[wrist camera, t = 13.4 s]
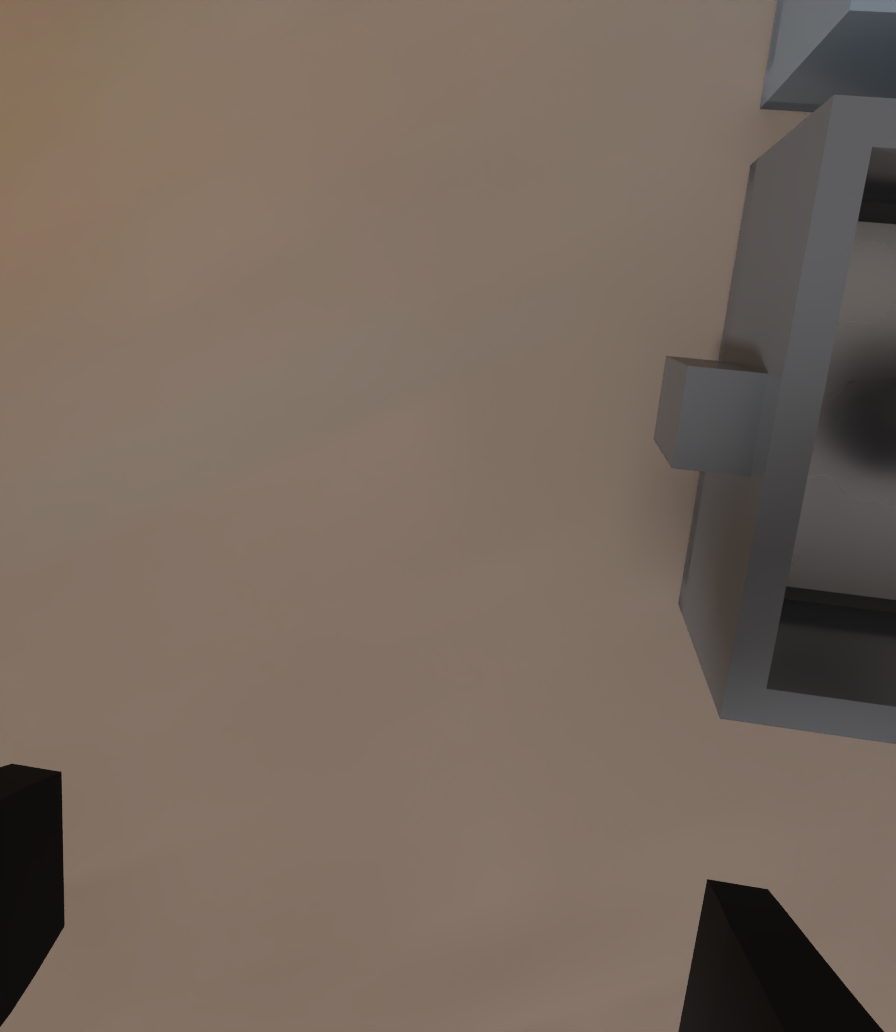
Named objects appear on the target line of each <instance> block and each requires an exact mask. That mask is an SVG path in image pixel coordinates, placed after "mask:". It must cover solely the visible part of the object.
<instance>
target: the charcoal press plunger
mask: <svg viewBox="0 0 896 1032" xmlns="http://www.w3.org/2000/svg"><path fill="white" fill-rule="evenodd" d="M786 586H788V587H796V588H804V589H812V590H820V591H828V592H836V593H844V594H852V595H860V596H867V597H875V598H883V599H891V600H896V224H885V223H872V222H859V221H858V222H857V227H856V233H855V238H854V243H853V248H852V253H851V258H850V263H849V268H848V273H847V279H846V284H845V289H844V294H843V299H842V304H841V309H840V314H839V319H838V325H837V330H836V335H835V340H834V345H833V350H832V355H831V360H830V365H829V371H828V376H827V381H826V386H825V391H824V396H823V401H822V406H821V411H820V417H819V422H818V427H817V432H816V437H815V442H814V447H813V452H812V457H811V463H810V468H809V473H808V478H807V483H806V488H805V493H804V498H803V503H802V509H801V514H800V519H799V524H798V529H797V534H796V539H795V544H794V549H793V555H792V560H791V565H790V570H789V575H788V580H787V585H786Z"/></svg>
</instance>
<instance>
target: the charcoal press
mask: <svg viewBox="0 0 896 1032" xmlns="http://www.w3.org/2000/svg"><path fill="white" fill-rule="evenodd" d="M858 221H859V222H872V223H885V224H896V99H895V98H879V97H863V96H846V95H833V96H832V97H831V98H830V99H828V100H827V101H826V102H825V103H824V104H823V105H821V106H820V107H819V108H818V109H817V110H815V111H814V112H813V113H812V114H811V115H809V116H808V117H807V118H806V119H805V120H803V121H802V122H801V123H800V124H799V125H797V126H796V127H795V128H794V129H793V130H792V131H790V132H789V133H788V134H787V135H786V136H784V137H783V138H782V139H781V140H780V141H778V142H777V143H776V144H775V145H774V146H772V147H771V148H770V149H769V150H768V151H767V152H765V153H764V154H763V155H762V156H761V157H759V158H758V159H757V160H756V161H755V162H753V163H752V164H751V166H750V172H749V178H748V184H747V190H746V196H745V203H744V209H743V215H742V221H741V227H740V233H739V239H738V245H737V251H736V257H735V263H734V269H733V275H732V282H731V288H730V294H729V300H728V306H727V312H726V318H725V324H724V330H723V336H722V342H721V348H720V354H719V361H713V360H703V359H692V358H682V357H672V356H666V360H665V366H664V373H663V380H662V387H661V393H660V400H659V407H658V413H657V420H656V427H655V433H654V441H655V442H656V444H657V446H658V447H659V449H660V450H661V452H662V453H663V455H664V457H665V458H666V460H667V461H668V463H669V464H670V466H671V468H676V469H685V470H694V471H700V476H699V482H698V488H697V494H696V500H695V506H694V512H693V519H692V525H691V531H690V537H689V543H688V549H687V555H686V561H685V567H684V573H683V579H682V585H681V591H680V598H679V607H680V610H681V612H682V615H683V618H684V621H685V623H686V626H687V629H688V632H689V635H690V637H691V640H692V643H693V646H694V648H695V651H696V654H697V657H698V659H699V662H700V665H701V668H702V670H703V673H704V676H705V679H706V681H707V684H708V687H709V690H710V692H711V695H712V698H713V701H714V704H715V706H716V709H717V712H718V715H719V717H720V719H727V720H734V721H741V722H748V723H755V724H762V725H769V726H775V727H782V728H789V729H796V730H803V731H810V732H817V733H824V734H831V735H838V736H845V737H851V738H858V739H865V740H872V741H879V742H886V743H893V744H896V600H891V599H883V598H875V597H867V596H860V595H852V594H844V593H836V592H828V591H820V590H812V589H804V588H796V587H788V586H786V585H787V580H788V575H789V570H790V565H791V560H792V555H793V549H794V544H795V539H796V534H797V529H798V524H799V519H800V514H801V509H802V503H803V498H804V493H805V488H806V483H807V478H808V473H809V468H810V463H811V457H812V452H813V447H814V442H815V437H816V432H817V427H818V422H819V417H820V411H821V406H822V401H823V396H824V391H825V386H826V381H827V376H828V371H829V365H830V360H831V355H832V350H833V345H834V340H835V335H836V330H837V325H838V319H839V314H840V309H841V304H842V299H843V294H844V289H845V284H846V279H847V273H848V268H849V263H850V258H851V253H852V248H853V243H854V238H855V233H856V227H857V222H858Z"/></svg>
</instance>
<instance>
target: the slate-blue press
mask: <svg viewBox="0 0 896 1032" xmlns="http://www.w3.org/2000/svg"><path fill="white" fill-rule="evenodd" d="M833 95H846V96H863V97H879V98H895V99H896V0H778V2H777V8H776V14H775V20H774V26H773V32H772V38H771V45H770V51H769V57H768V63H767V69H766V75H765V81H764V87H763V93H762V99H761V105H760V109H771V110H787V111H802V112H814V111H815V110H817V109H818V108H819V107H820V106H821V105H823V104H824V103H825V102H826V101H827V100H828V99H830V98H831V97H832V96H833Z"/></svg>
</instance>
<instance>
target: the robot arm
mask: <svg viewBox="0 0 896 1032" xmlns="http://www.w3.org/2000/svg"><path fill="white" fill-rule="evenodd" d="M63 928H64V878H63V829H62V780H61V772H58V771H52V770H46V769H40V768H34V767H28V766H22V765H16V764H10V765H6V766H3V767H0V1026H1V1025H2V1024H3V1022H4V1021H5V1020H6V1018H7V1017H8V1016H9V1015H10V1013H11V1012H12V1010H13V1009H14V1007H15V1006H16V1004H17V1002H18V1001H19V999H20V998H21V996H22V995H23V993H24V992H25V990H26V988H27V987H28V985H29V984H30V982H31V981H32V979H33V977H34V976H35V974H36V973H37V971H38V969H39V968H40V966H41V964H42V963H43V961H44V959H45V958H46V956H47V954H48V953H49V951H50V949H51V948H52V946H53V944H54V943H55V941H56V939H57V938H58V936H59V934H60V933H61V931H62V929H63ZM679 1032H884V1031H883V1030H882V1029H881V1028H880V1027H879V1025H878V1024H877V1023H876V1022H875V1021H874V1020H873V1018H872V1017H871V1016H870V1015H869V1014H868V1012H867V1011H866V1010H865V1009H864V1008H863V1006H862V1005H861V1004H860V1003H859V1002H858V1000H857V999H856V998H855V997H854V995H853V994H852V993H851V992H850V991H849V989H848V988H847V987H846V986H845V984H844V983H843V982H842V981H841V980H840V978H839V977H838V976H837V975H836V973H835V972H834V971H833V970H832V968H831V967H830V966H829V965H828V963H827V962H826V961H825V960H824V959H823V957H822V956H821V955H820V954H819V952H818V951H817V950H816V949H815V947H814V946H813V945H812V944H811V942H810V941H809V940H808V939H807V937H806V936H805V935H804V933H803V932H802V931H801V930H800V928H799V927H798V926H797V925H796V923H795V922H794V921H793V920H792V918H791V917H790V916H789V915H788V913H787V912H786V911H785V910H784V908H783V907H782V906H781V905H780V903H779V902H778V901H777V900H776V899H775V897H774V896H773V895H772V894H771V893H770V891H769V890H768V889H762V888H756V887H750V886H744V885H738V884H732V883H726V882H720V881H714V880H708V879H707V884H706V889H705V894H704V900H703V905H702V910H701V916H700V921H699V926H698V932H697V937H696V942H695V947H694V953H693V958H692V963H691V969H690V974H689V979H688V985H687V990H686V995H685V1000H684V1006H683V1011H682V1016H681V1022H680V1027H679Z"/></svg>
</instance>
